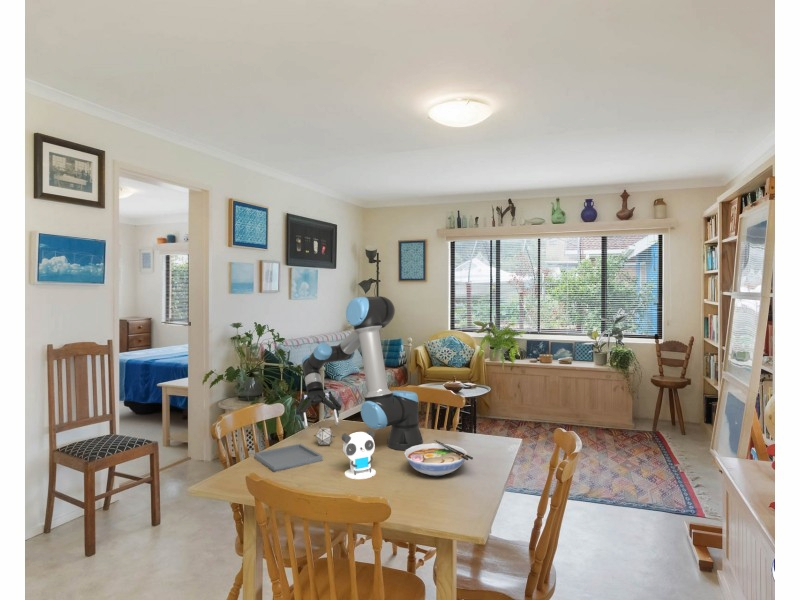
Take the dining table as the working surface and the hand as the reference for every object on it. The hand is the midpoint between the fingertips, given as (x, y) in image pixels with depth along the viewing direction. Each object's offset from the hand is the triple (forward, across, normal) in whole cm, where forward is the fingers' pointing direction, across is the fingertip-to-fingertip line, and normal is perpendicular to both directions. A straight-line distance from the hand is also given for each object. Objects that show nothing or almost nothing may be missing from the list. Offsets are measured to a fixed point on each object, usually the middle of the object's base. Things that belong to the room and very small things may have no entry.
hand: (321, 425), depth 220 cm
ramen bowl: (+42, -30, +31) cm, 61 cm away
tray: (+16, +17, +5) cm, 24 cm away
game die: (+8, 0, -4) cm, 9 cm away
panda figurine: (+35, -5, +23) cm, 42 cm away
